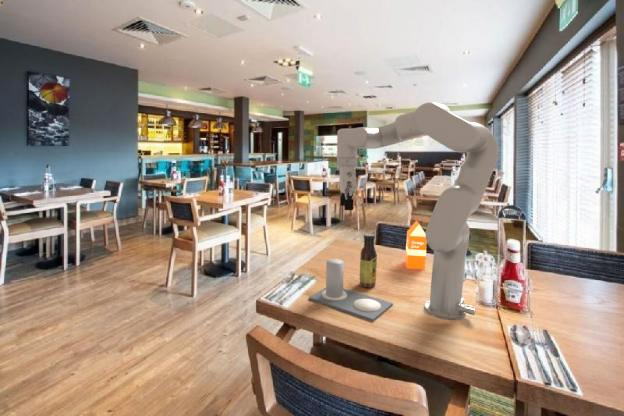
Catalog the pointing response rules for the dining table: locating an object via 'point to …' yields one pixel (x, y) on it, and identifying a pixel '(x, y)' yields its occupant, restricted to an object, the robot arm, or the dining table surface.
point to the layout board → (348, 295)
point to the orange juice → (416, 247)
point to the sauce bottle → (368, 262)
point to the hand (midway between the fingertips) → (346, 207)
